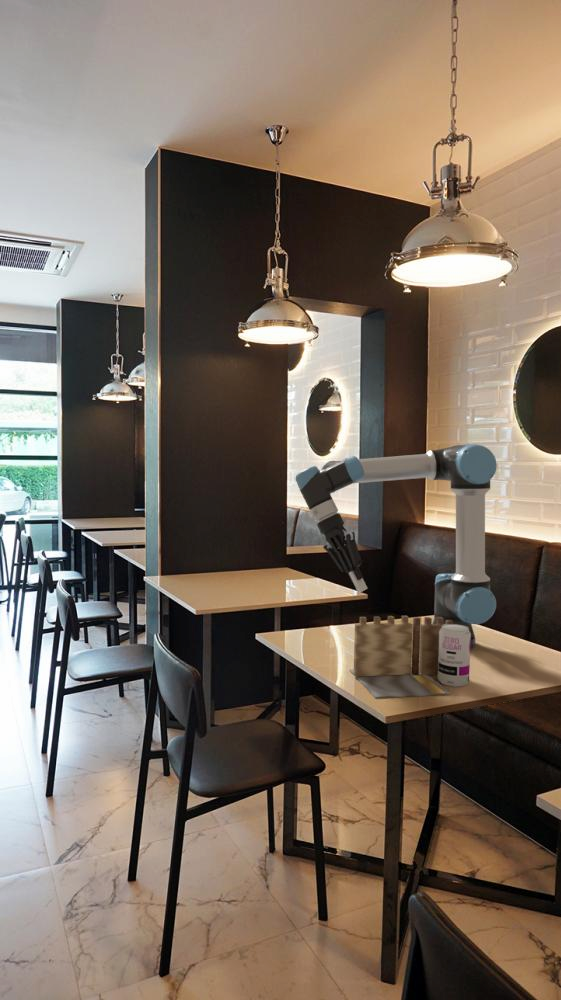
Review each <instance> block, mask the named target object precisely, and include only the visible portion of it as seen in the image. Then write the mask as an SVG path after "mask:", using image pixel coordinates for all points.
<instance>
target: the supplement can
mask: <svg viewBox="0 0 561 1000" xmlns="http://www.w3.org/2000/svg"><path fill="white" fill-rule="evenodd" d="M470 643H471V633H470V631H469V628H468V627H466V626H463V625H457V624H446V625H442V628H441V629H440V631H439V652H438V675H437V680H438V681H439V683H440V684H443V685H445V686H449V687H456V688H457V687H465V686H466V685H467V684H468V683H470V669H471V668H470V666H471V665H470V664H471V662H470V661H471V648H470Z"/></svg>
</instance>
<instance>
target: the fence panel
mask: <svg viewBox="0 0 561 1000" xmlns="http://www.w3.org/2000/svg"><path fill="white" fill-rule="evenodd" d="M395 618H396V617H395V616H393V615H387V621H386V622H387V623H384V622H383V623H381V617H380V616H378V615H377V616H373V623H367V617H366V616H359V623H356V624H355V623H354V639H353V640H354V643H353V647H354V648H353V650H354V651H353V669H354V675H353V677H355V678H356V677H359V676H382V675H406V674H411V667H412V640H413V622H409V616H408V615H401V619H400V620H401V621H400V622H395V620H396V619H395Z"/></svg>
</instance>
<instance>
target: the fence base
mask: <svg viewBox="0 0 561 1000" xmlns="http://www.w3.org/2000/svg"><path fill="white" fill-rule="evenodd" d="M432 620H433V619H432V618H431V617H430V616H427V617H424V622H423V623H422V624H421V621H422V620H421V617H413V618H412V624H413V631H412V662H411V674H406V675H382V676H359V677H355V678H356V680H357V681H359V683H361V685H362V686H363V687H364V688H365V689H366V690H367V691H368V692H369V693H370V694H371V695H372V696H373V698H375V699H387V698H388V699H390V698H391V699H392V698H409V697H428V696H429V697H430V696H431V697H433V696H449V695H451V694H452V693H451V691H449V690H448V689H446V688H445V687H444V686H442V685H441V683H438V682H437V681H436V680H435V679H433V678H432V677H431V676H438V652H439V631H440V629H441V628H442V625H446V624H453V621H452V620H446V623H445V624H443V620H444V618H442V617H436V624H432V623H433V621H432ZM349 673H351V674H352V675H353V676H354V668H352V669H349Z"/></svg>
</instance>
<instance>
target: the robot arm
mask: <svg viewBox="0 0 561 1000" xmlns="http://www.w3.org/2000/svg"><path fill="white" fill-rule="evenodd" d="M497 466H498V465H497V460H496V456H495V455H494V453H493V452H492V451H491V450H490V449H489V448H488V447H486V446H485V445H483V444H482V445H481V444H476V443H470V444H459V445H458V444H457V445H452V446H449V447H445V448H440V449H433V450H427V451H426V453H421V454H411V455H409V454H407V455H398V456H395V455H393V456H384V457H372V458H371V457H370V458H369V457H367V458H358V457H357V456H356V455H352V456H349V457H346V458H344V459H341V460H331V461H330V460H329V461H327V462H326V463H324V464H323V466H321V469H319V468H318V467H317V466H316V465H313V466H311V467H310V466H309V467H308V468H305V469H304V470H302V471H300V472H298V473H297V474H296V476H295V478H294V479H295V482H296V484H297V486H298V488H299V491H300V494H301V495H302V498H303V499H304V501H305V503H306V505H307V507H308V509H309V511H310V513H311V515H312V517H313V520H314V522H317V524H316V526H317V528H318V530H319V533H320V534H321V535H324V536H325V537H324V538H325V541H326V543H325V545H323V549H324V550H325V551H326V552H327V553H328V554H329V556H330V557H331V559H332V561H334V563H335V565H336V566H337V567H338V569H339V570H340V572H341V573H346V574H347V575H348V577H349V579H350V581H351V582H352V583H353V585H354V587H355V589H356V591H357V593H358V594H359V593H360V594H361V593H362V592H364V591H365V590H367V589H369V588H368V586H367V585H366V582H365V580H364V576H363V574H362V572H361V570H360V566H361V565H362V564H363V562H362V558H361V554H360V552H359V548H358V546H357V541H356V533H355V532H354V531H352V532H349V531H348V530H347V529H346V528H345V527H344V525H345V521H344V520H343V517H342V515H341V513H339V512H338V511H339V509H338V507H337V505H336V502H335V501H334V498H333V497H332V495H331V494H334V493H335V492H338V491H340V490H341V489H344V488H346V487H348V486H350V485H352V484H362V483H364V484H365V483H373V482H374V483H375V482H387V481H390V482H391V481H399V480H400V481H401V480H411V479H427V478H428V480H429V481H450V490H451V491H452V492H453V493H454V494H455V572H454V573H438V574H437V575H436V576H435V582H434V605H433V606H434V608H433V609H434V611H433V612H434V613H433V619H432V620H433V621H432V624H436V617H442V618H444V620H443V624H445V623H446V620H452V621H453V624H457V625H463V626H466V627H468V628H469V631H470V633H471V643H470V649H473V648H474V647H476V641H477V639H476V636H475V632H474V629H473V625H480V624H484V623H486V622H487V621H489V620H490V619H491V618H492V617H493V615H494V613H495V611H496V609H497V600H496V597H495V594H493V591H491V577H489V576H488V575H487V574H486V494H487V493H488V492H489V491H490V490H491V480H492V479H493V478H494V476H495V474H496V471H497Z"/></svg>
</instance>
